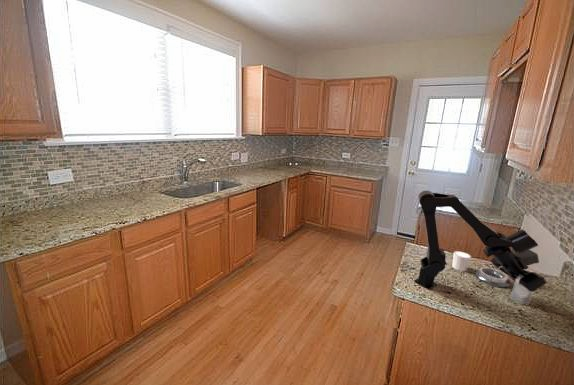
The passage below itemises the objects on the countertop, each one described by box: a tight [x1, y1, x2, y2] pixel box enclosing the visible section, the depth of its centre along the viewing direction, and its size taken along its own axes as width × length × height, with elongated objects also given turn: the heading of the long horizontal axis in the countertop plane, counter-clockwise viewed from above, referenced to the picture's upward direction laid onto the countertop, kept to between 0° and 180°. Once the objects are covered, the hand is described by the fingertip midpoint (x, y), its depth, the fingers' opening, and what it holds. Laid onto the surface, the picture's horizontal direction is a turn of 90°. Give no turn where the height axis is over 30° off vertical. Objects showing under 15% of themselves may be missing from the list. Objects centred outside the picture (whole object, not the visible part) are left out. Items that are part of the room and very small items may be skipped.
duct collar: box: [474, 266, 511, 289], centre depth 114 cm, size 12×12×3 cm
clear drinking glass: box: [510, 267, 540, 306], centre depth 99 cm, size 6×6×13 cm
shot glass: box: [451, 250, 472, 272], centre depth 121 cm, size 7×7×7 cm
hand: (528, 285), depth 99 cm, fingers closed on clear drinking glass, 6 cm apart
